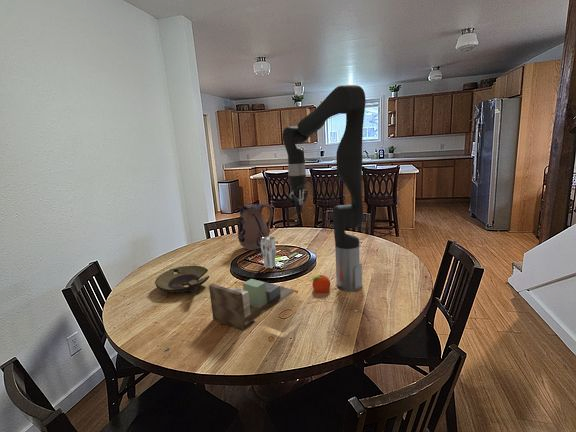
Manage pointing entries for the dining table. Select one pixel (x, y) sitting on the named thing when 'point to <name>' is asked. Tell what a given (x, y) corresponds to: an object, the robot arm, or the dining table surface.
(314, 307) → the dining table surface
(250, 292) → the pale green chunky prism
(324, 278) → the tomato
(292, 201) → the robot arm
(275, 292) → the dark gray rectangular block
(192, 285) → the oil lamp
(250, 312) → the book shelf
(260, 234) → the ceramic pitcher
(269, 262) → the beer glass
